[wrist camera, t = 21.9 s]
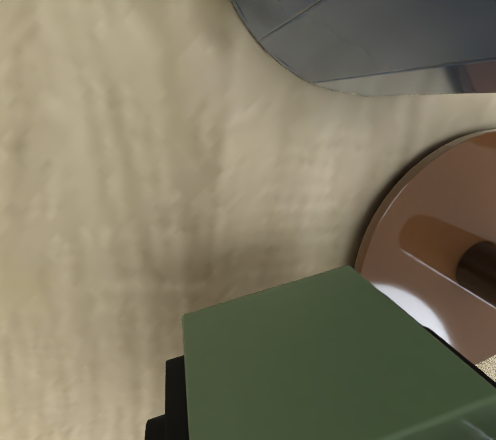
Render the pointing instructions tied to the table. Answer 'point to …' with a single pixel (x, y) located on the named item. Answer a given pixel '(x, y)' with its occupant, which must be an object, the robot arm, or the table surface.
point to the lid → (441, 244)
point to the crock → (380, 43)
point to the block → (327, 369)
